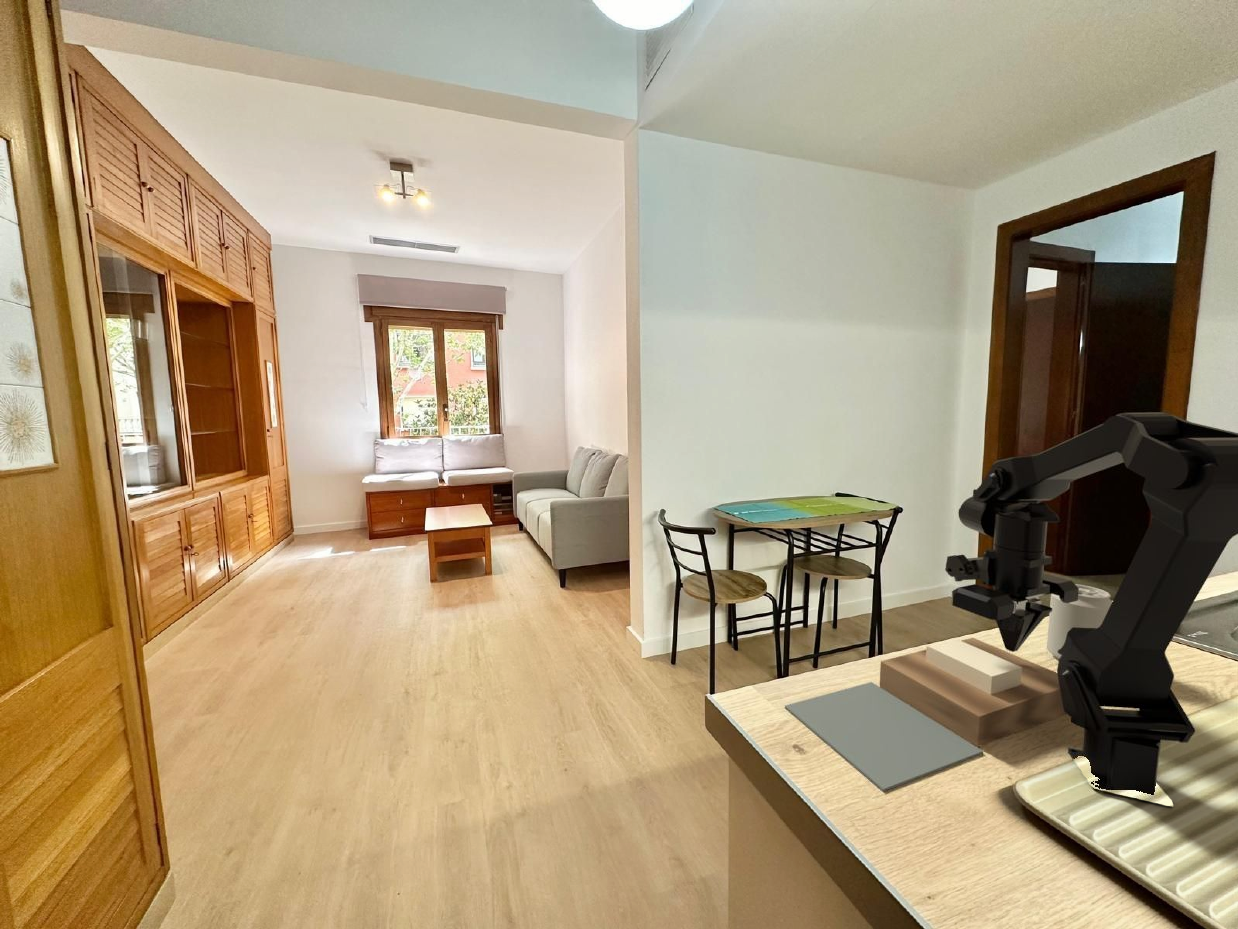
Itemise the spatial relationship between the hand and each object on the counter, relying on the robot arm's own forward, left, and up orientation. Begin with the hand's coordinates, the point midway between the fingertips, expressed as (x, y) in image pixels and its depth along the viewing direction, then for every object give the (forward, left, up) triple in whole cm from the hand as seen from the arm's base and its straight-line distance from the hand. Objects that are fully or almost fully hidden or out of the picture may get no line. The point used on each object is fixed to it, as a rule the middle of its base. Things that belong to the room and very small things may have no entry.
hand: (1011, 650), depth 70 cm
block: (-5, +5, -6) cm, 9 cm away
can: (+14, -13, -6) cm, 20 cm away
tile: (-6, +6, 0) cm, 8 cm away
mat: (-18, +19, -6) cm, 27 cm away
